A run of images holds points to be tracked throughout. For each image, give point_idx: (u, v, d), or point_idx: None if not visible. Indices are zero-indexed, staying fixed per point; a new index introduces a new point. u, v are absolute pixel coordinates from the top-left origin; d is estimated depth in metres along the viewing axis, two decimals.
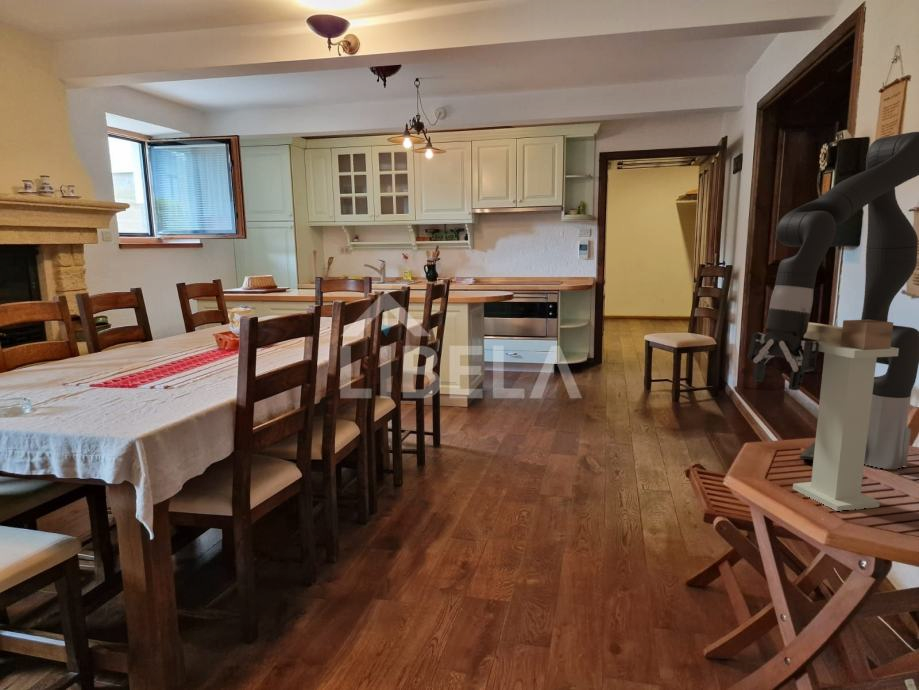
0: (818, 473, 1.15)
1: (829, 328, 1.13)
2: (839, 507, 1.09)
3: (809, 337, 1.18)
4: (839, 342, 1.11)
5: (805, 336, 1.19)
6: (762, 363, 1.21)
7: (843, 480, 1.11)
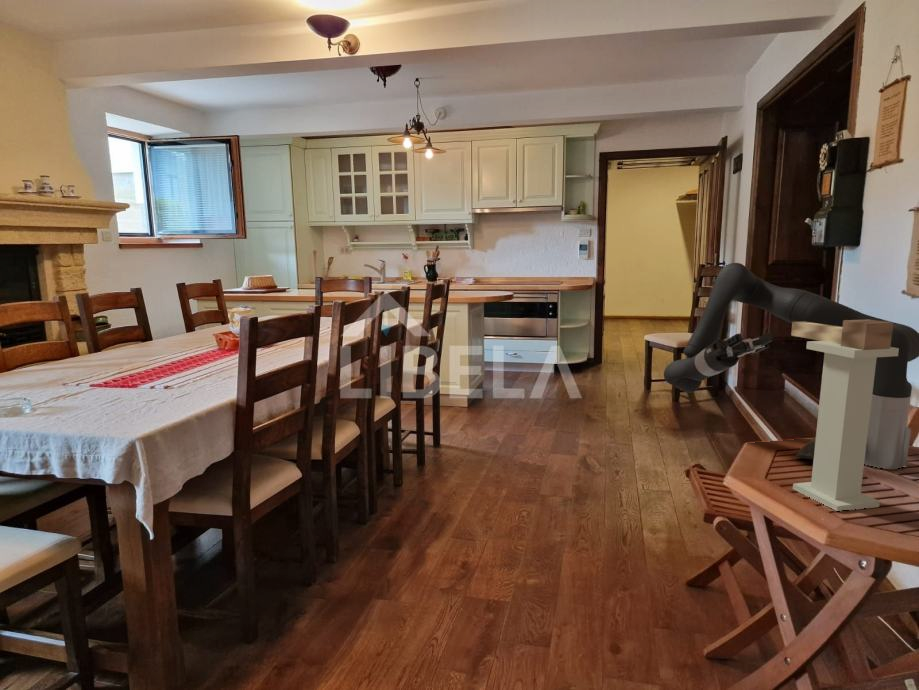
0: (818, 473, 1.15)
1: (829, 328, 1.13)
2: (839, 507, 1.09)
3: (809, 337, 1.18)
4: (839, 342, 1.11)
5: (805, 336, 1.19)
6: (759, 341, 1.39)
7: (843, 480, 1.11)
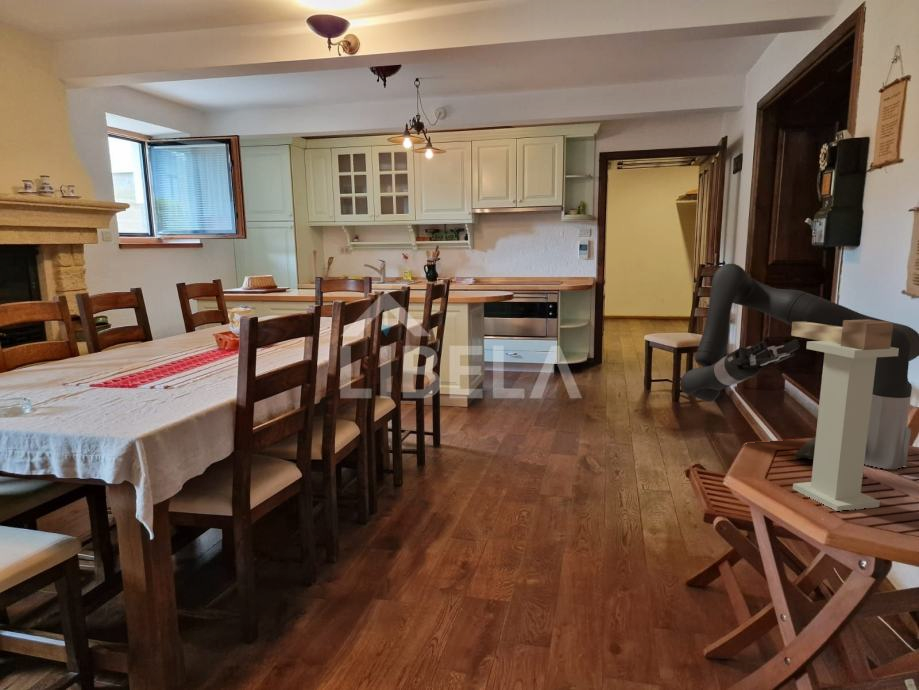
0: (818, 473, 1.15)
1: (829, 328, 1.13)
2: (839, 507, 1.09)
3: (809, 337, 1.18)
4: (839, 342, 1.11)
5: (805, 336, 1.19)
6: (784, 348, 1.32)
7: (843, 480, 1.11)
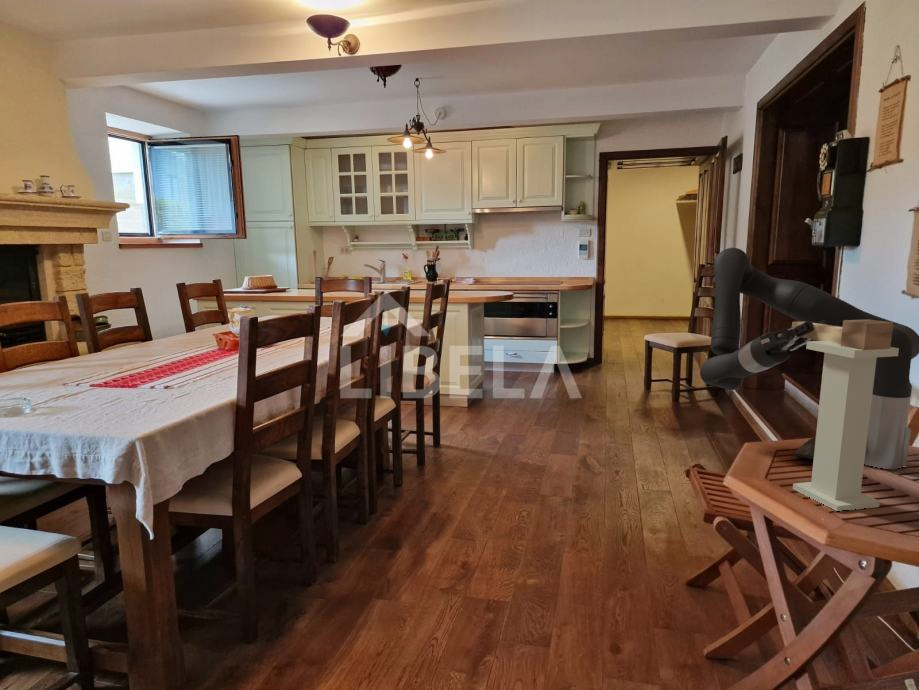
0: (818, 473, 1.15)
1: (829, 328, 1.13)
2: (839, 507, 1.09)
3: (809, 337, 1.18)
4: (839, 342, 1.11)
5: (805, 336, 1.19)
6: None
7: (843, 480, 1.11)
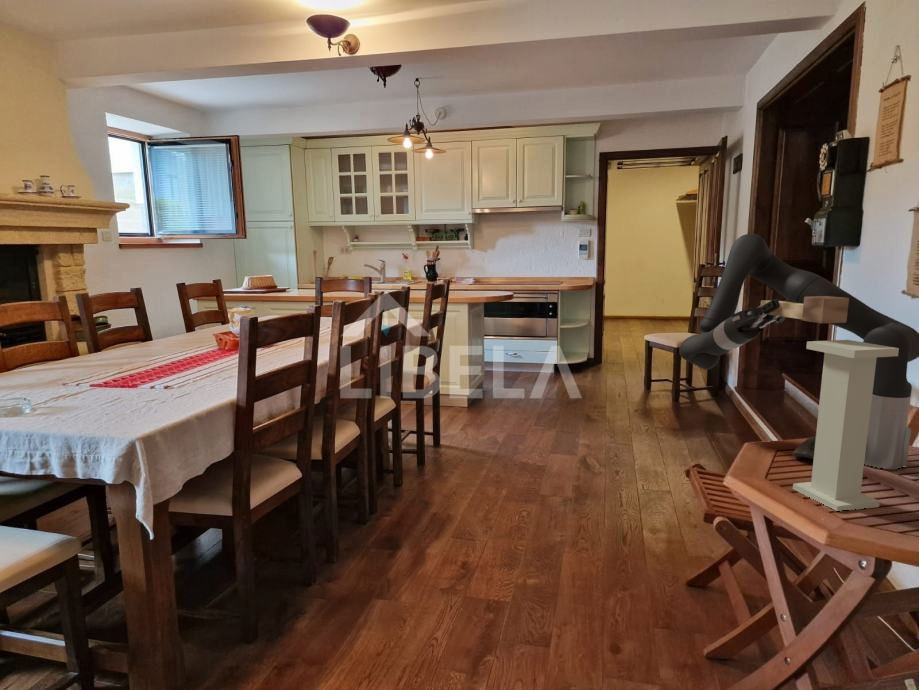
0: (818, 473, 1.15)
1: (792, 305, 1.22)
2: (839, 507, 1.09)
3: (775, 314, 1.27)
4: (801, 317, 1.20)
5: (772, 313, 1.28)
6: None
7: (843, 480, 1.11)
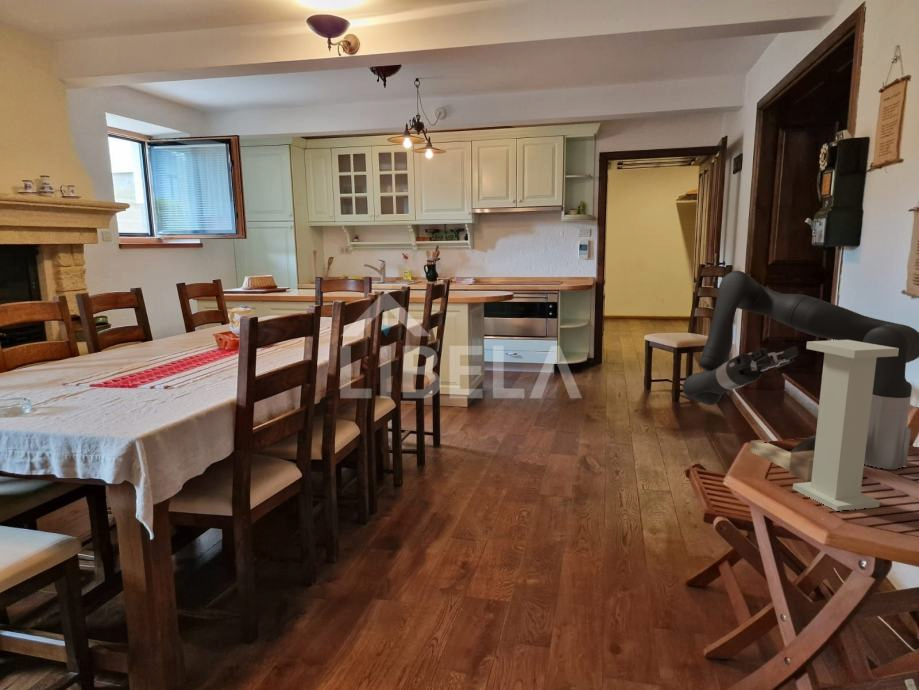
0: (818, 473, 1.15)
1: (780, 454, 1.32)
2: (839, 507, 1.09)
3: (764, 457, 1.37)
4: (788, 468, 1.30)
5: (761, 456, 1.38)
6: (784, 355, 1.37)
7: (843, 480, 1.11)
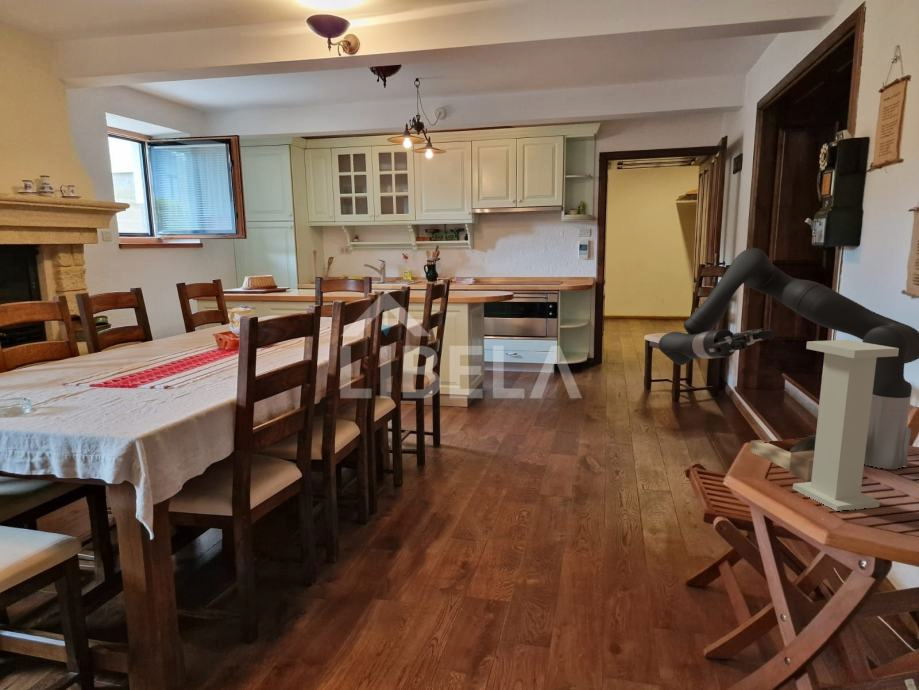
0: (818, 473, 1.15)
1: (780, 454, 1.32)
2: (839, 507, 1.09)
3: (764, 457, 1.37)
4: (788, 468, 1.30)
5: (761, 456, 1.38)
6: (759, 335, 1.41)
7: (843, 480, 1.11)
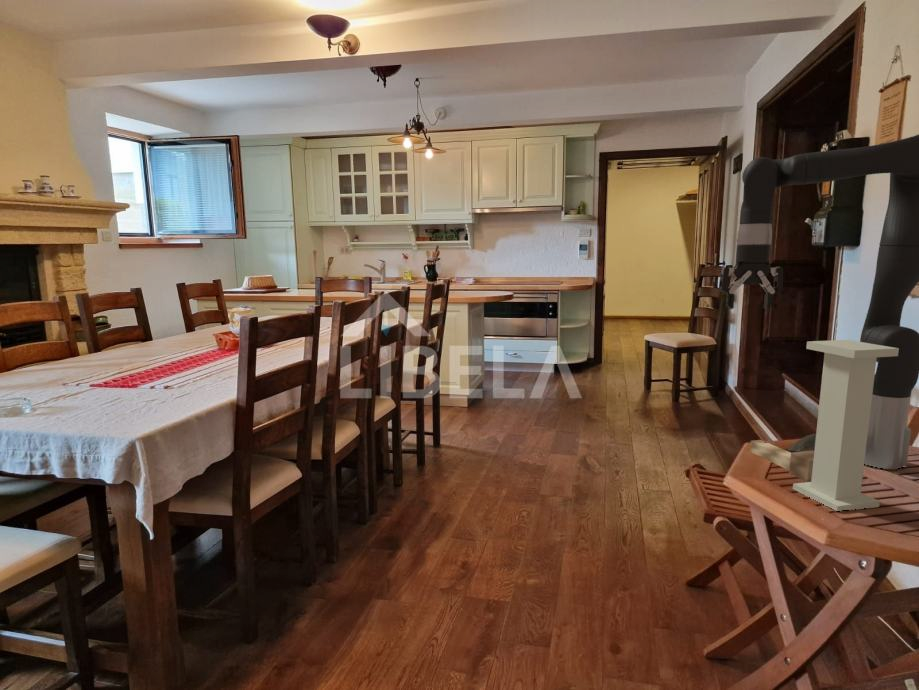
0: (818, 473, 1.15)
1: (780, 454, 1.32)
2: (839, 507, 1.09)
3: (764, 457, 1.37)
4: (788, 468, 1.30)
5: (761, 456, 1.38)
6: (767, 293, 1.38)
7: (843, 480, 1.11)
